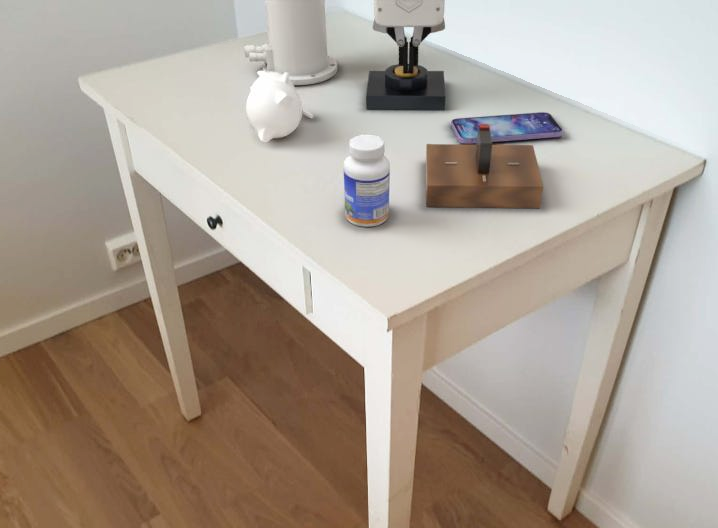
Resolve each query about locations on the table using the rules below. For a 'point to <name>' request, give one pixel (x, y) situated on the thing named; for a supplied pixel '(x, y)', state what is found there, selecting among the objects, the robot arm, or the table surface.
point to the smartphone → (508, 127)
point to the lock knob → (483, 148)
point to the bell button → (400, 73)
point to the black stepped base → (405, 90)
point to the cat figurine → (274, 106)
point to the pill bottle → (366, 181)
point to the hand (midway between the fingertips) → (408, 70)
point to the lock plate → (482, 177)
